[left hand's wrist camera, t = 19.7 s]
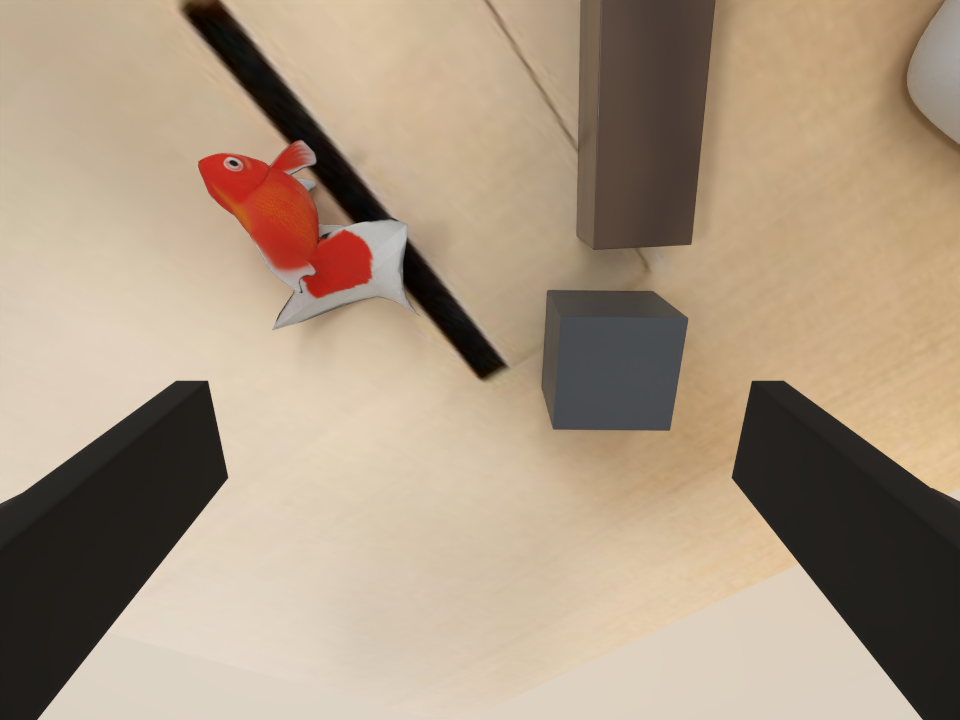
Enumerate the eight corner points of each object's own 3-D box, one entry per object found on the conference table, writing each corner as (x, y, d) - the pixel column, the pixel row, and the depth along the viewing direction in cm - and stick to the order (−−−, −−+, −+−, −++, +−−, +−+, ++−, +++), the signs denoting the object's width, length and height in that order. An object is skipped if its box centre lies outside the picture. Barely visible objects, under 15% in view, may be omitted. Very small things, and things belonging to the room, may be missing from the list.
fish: (327, 53, 29) (269, 152, 23) (467, 249, 39) (452, 352, 33) (204, 134, 33) (129, 235, 28) (359, 290, 44) (329, 387, 38)
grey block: (541, 387, 42) (552, 429, 35) (547, 290, 39) (560, 316, 32) (640, 388, 42) (670, 430, 35) (653, 291, 39) (688, 318, 32)
